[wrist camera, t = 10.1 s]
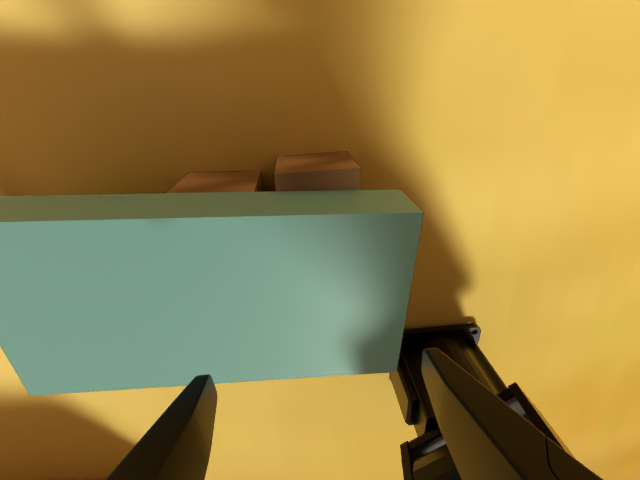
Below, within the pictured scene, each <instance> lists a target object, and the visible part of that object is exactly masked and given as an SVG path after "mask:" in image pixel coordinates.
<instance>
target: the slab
mask: <svg viewBox="0 0 640 480" xmlns="http://www.w3.org/2000/svg"><path fill="white" fill-rule="evenodd" d="M423 213H424V212H423V211H422V210H421V209H420V208H419V207H418V206H417V205H416V204H415V203H414V202H413V201H412V200H411V199H410V198H408V197H407V196H406V195H405V194H404V193H403V192H402V191H401V190H400V189H385V190H326V191H266V192H207V193H147V194H87V195H28V196H0V347H1V348H2V350H3V352H4V353H5V355H6V357H7V358H8V360H9V362H10V363H11V365H12V366H13V368H14V370H15V371H16V373H17V375H18V376H19V378H20V380H21V381H22V383H23V385H24V386H25V388H26V390H27V391H28V393H29V395H30V396H32V395H48V394H63V393H79V392H94V391H109V390H125V389H140V388H156V387H171V386H187V385H188V384H189V383H190V382H191V381H192V380H193V379H194V377H196V376H198V375H205V374H210V375H211V377H212V379H213V382H214V384H217V383H233V382H248V381H264V380H279V379H294V378H310V377H325V376H341V375H356V374H371V373H387V372H397V366H398V360H399V354H400V348H401V343H402V337H403V331H404V325H405V319H406V313H407V307H408V301H409V296H410V290H411V284H412V278H413V272H414V266H415V260H416V254H417V249H418V243H419V237H420V231H421V225H422V219H423Z"/></svg>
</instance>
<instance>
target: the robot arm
mask: <svg viewBox="0 0 640 480" xmlns="http://www.w3.org/2000/svg"><path fill="white" fill-rule="evenodd" d="M480 333H481V329H480V328H479V327H478V325H476V324H466V325H455V326H444V327H434V328H423V329H412V330H404V331H403V337H404V338H403V337H402V343H401V348H400V354H399V360H398V366H397V372H391V381H392V384H393V387H394V390H395V393H396V396H397V399H398V402H399V405H400V408H401V411H402V414H403V417H404V420H405V422H406V423H407V424H408V425H414V427H415V430H416V433H417V435H418V437H417V438H415V439H413V440H411V441H410V442H408V441H406V442H404V443H403V444H401V445H400V448H401V456H402V467H403V475H404V480H603V479H602V478H600V477H599V476H598V475H596V474H595V473H593V472H592V471H591V470H589V469H588V468H587V467H585V466H584V465H583V464H581V463H580V462H579V461H577V460H576V459H575V458H574V456H573V455H572V453H571V452H570V451H569V449H568V448H567V447H566V445H565V444H564V443H563V441H562V440H561V439H560V437H559V436H558V435H557V434H556V432H555V431H554V430H553V428H552V427H551V426H550V424H549V423H548V422H547V420H546V419H545V418H544V416H543V415H542V414H541V413H540V411H539V410H538V409H537V408H536V407H535V405H534V404H533V403H532V402H531V400H530V399H529V398H528V397H527V396H526V394H525V393H524V392H523V391H522V389H521V388H520V387H519V386H518V385H517V383H516V382H515V383H513V384H511V385H509V386H508V387H509V388H507V387H506V385H505V384H504V382H503V381H502V380H501V378H500V377H499V375H498V374H497V373H496V371H495V370H494V368H493V367H492V365H491V364H490V363H489V361H488V360H487V358H486V357H485V355H484V354H483V353H482V351H481V350H480V348H479V347H478V341H479V337H480ZM405 336H406V337H405ZM216 405H217V391H216V388H215V385H214V382H213V379H212V377H211V375H210V374H205V375H198V376H196V377H194V379H193V380H192V381H191V382H190V383H189V384H188V385H187V387H186V388H185V389H184V390H183V391H182V392H181V393H180V395H179V396H178V397H177V398H176V399H175V400H174V402H173V403H172V404H171V405H170V406H169V407H168V408H167V410H166V411H165V412H164V413H163V414H162V415H161V416H160V418H159V419H158V420H157V421H156V422H155V423H154V424H153V426H152V427H151V428H150V429H149V430H148V431H147V433H146V434H145V435H144V436H143V437H142V438H141V439H140V441H139V442H138V443H137V444H136V445H135V446H134V447H133V449H132V450H131V451H130V452H129V453H128V454H127V455H126V457H125V458H124V459H123V460H122V461H121V462H120V464H119V465H118V466H117V467H116V468H115V469H114V470H113V472H112V473H111V474H110V475H109V476H108V477H107V478H106V480H204V479H205V475H206V470H207V466H208V462H209V457H210V451H211V445H212V437H213V429H214V421H215V413H216Z"/></svg>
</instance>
